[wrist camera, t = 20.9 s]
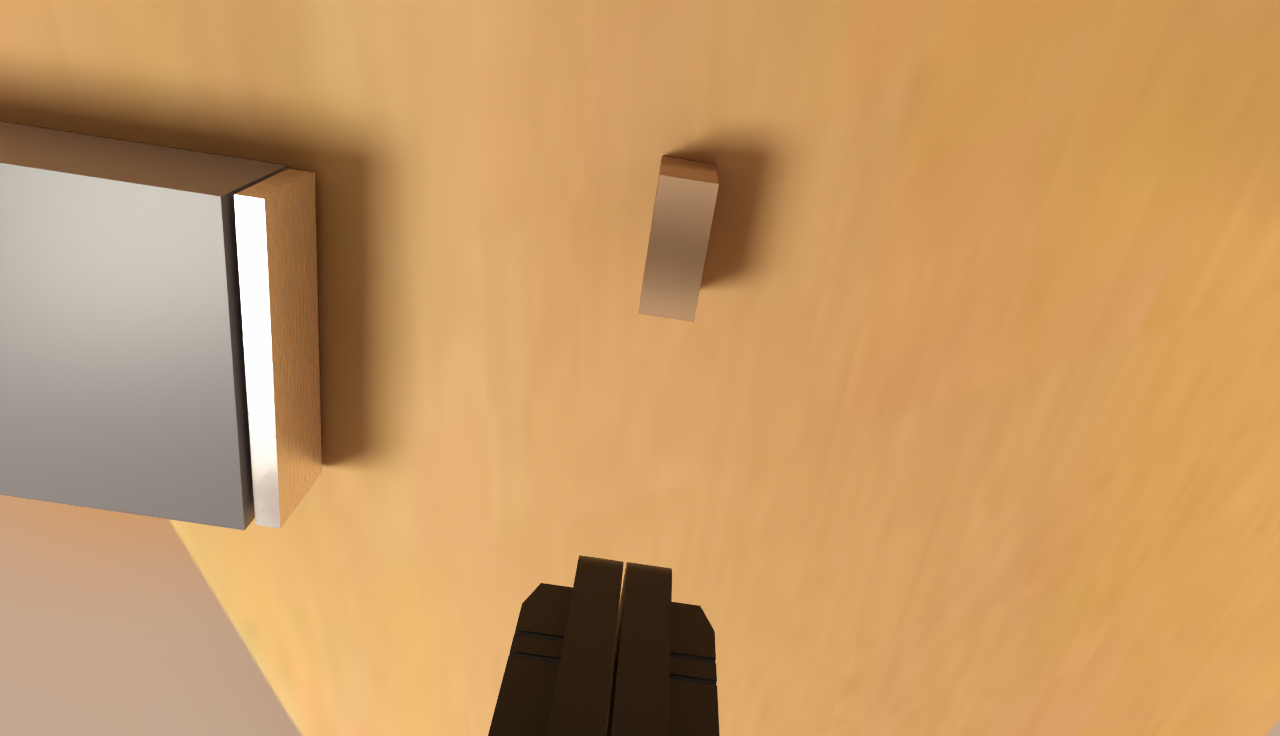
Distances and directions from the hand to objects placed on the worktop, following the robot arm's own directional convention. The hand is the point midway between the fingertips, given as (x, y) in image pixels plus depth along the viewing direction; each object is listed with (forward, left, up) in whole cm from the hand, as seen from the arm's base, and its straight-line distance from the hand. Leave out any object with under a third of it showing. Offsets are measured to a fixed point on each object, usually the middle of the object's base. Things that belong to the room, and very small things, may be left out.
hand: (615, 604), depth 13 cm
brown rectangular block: (+1, +1, -27) cm, 27 cm away
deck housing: (+9, -25, -27) cm, 38 cm away
